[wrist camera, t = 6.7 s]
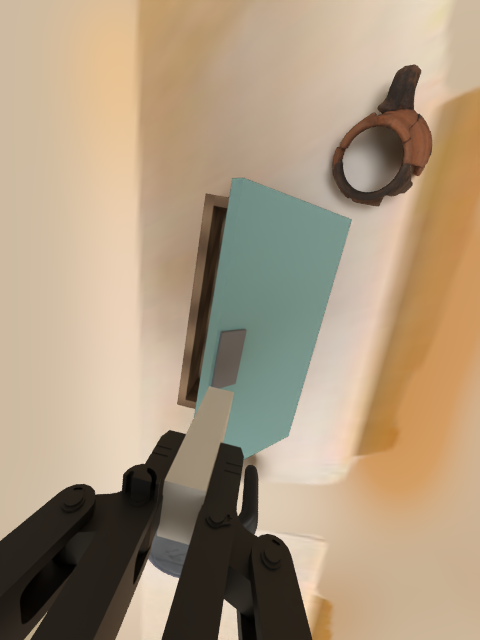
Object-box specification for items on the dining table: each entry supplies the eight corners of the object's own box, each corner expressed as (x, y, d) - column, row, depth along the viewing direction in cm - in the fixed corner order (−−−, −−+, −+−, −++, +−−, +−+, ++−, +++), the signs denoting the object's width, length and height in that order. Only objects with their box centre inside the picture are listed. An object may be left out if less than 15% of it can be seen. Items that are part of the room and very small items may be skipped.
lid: (232, 178, 18) (247, 177, 17) (340, 218, 27) (354, 219, 26) (184, 477, 25) (192, 490, 24) (281, 430, 35) (290, 437, 33)
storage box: (219, 203, 35) (205, 193, 28) (327, 223, 34) (340, 218, 27) (192, 378, 42) (177, 404, 36) (280, 399, 41) (281, 429, 35)
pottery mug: (419, 201, 32) (411, 212, 26) (339, 198, 37) (318, 206, 31) (458, 67, 26) (459, 42, 20) (357, 83, 31) (334, 67, 25)
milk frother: (197, 485, 48) (165, 586, 34) (154, 414, 45) (98, 493, 31) (270, 464, 45) (267, 566, 31) (228, 386, 42) (204, 460, 28)
